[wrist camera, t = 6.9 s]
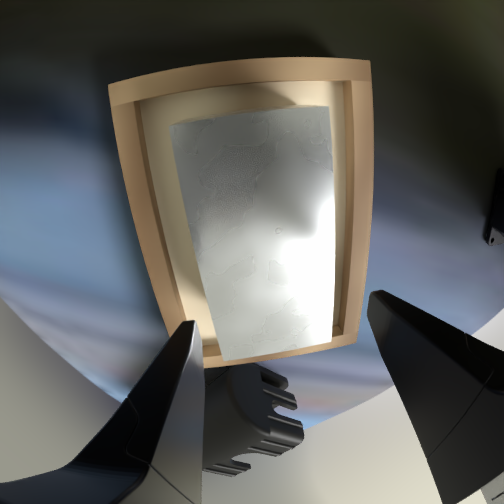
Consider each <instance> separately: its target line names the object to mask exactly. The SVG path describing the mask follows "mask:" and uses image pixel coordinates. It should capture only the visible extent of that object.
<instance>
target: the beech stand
mask: <svg viewBox="0 0 504 504" xmlns="http://www.w3.org/2000/svg"><path fill="white" fill-rule="evenodd" d="M108 90H109V97H110V104H111V111H112V118H113V124H114V130H115V136H116V142H117V147H118V152H119V158H120V163H121V168H122V172H123V177H124V182H125V186H126V191H127V195H128V199H129V204H130V208H131V212H132V216H133V220H134V224H135V228H136V231H137V235H138V239H139V243H140V246H141V250H142V253H143V257H144V260H145V264H146V267H147V270H148V274H149V277H150V280H151V283H152V287H153V290H154V293H155V296H156V299H157V302H158V305H159V308H160V311H161V314H162V317H163V320H164V323H165V325H166V328H167V331H168V334H169V337H171V336H172V334H173V333H174V332H175V330H176V329H177V328H178V326H179V325H180V324H181V322H183V321H187V320H195V321H196V322H197V326H198V329H199V333H200V336H201V340H202V348H203V363H204V368H212V367H221V366H229V365H237V364H245V363H252V362H259V361H265V360H272V359H278V358H284V357H290V356H295V355H301V354H306V353H311V352H316V351H321V350H326V349H331V348H336V347H340V346H345V345H349V344H353V343H356V340H357V335H358V329H359V323H360V317H361V310H362V303H363V296H364V289H365V281H366V273H367V264H368V254H369V244H370V232H371V218H372V200H373V174H374V123H373V97H372V80H371V67H370V61H368V60H358V59H344V58H323V57H279V58H258V59H244V60H233V61H224V62H215V63H208V64H200V65H194V66H188V67H182V68H176V69H171V70H166V71H161V72H156V73H151V74H147V75H143V76H139V77H134V78H130V79H127V80H123V81H119V82H116V83H112V84H109V85H108ZM297 104H298V105H318V106H329V112H330V124H331V138H332V154H333V175H334V207H335V268H334V301H333V322H332V338H331V342H327V343H323V344H318V345H314V346H309V347H304V348H299V349H294V350H289V351H284V352H278V353H273V354H267V355H261V356H255V357H249V358H243V359H236V360H229V361H223V357H222V354H221V350H220V347H219V343H218V340H217V336H216V333H215V329H214V325H213V322H212V318H211V314H210V311H209V307H208V303H207V299H206V295H205V291H204V288H203V284H202V280H201V276H200V272H199V268H198V264H197V259H196V255H195V251H194V247H193V243H192V238H191V234H190V230H189V225H188V221H187V216H186V212H185V207H184V202H183V198H182V193H181V188H180V183H179V178H178V174H177V168H176V163H175V158H174V153H173V148H172V142H171V137H170V131H169V126H170V125H173V124H175V123H177V122H179V121H181V120H184V119H190V118H195V117H200V116H206V115H212V114H218V113H225V112H231V111H239V110H246V109H254V108H263V107H273V106H284V105H297Z"/></svg>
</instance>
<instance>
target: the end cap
mask: <svg viewBox="0 0 504 504" xmlns="http://www.w3.org/2000/svg"><path fill="white" fill-rule="evenodd" d="M287 387H288V381H287V379H286V378H285V377H283V376H281V375H279V374H276V373H274V372H272V371H270V370H268V369H266V368H264V367H261V366H259V365H257V364H255V363H245V364H237V365H234V366H232V367H231V368H230V369H228V370H227V371H226V372H225V373H224V374H222V375H221V376H220V377H219V378H217V379H216V380H215V381H214V382H212V383H211V384H210V385H209V386H207V387H206V388H205V404H204V425H203V451H202V471H206V472H211V473H215V474H221V475H225V476H230V477H232V476H236V475H237V474H239V473H242V472H245V471H247V470H248V469H251V466H250V464H247V463H243V462H238V461H234V460H232V459H231V458H233V457H234V456H237V455H240V454H246V453H261V454H266V455H270V456H275V457H276V456H280V455H281V454H282V453H284V452H286V451H288V450H290V449H293V448H294V447H295V446H297V445H299V444H300V443H302V441H303V439H304V432H303V425H302V424H301V421H298V420H295V419H292V418H288V417H285V416H282V415H279V414H277V413H276V412H275V411H274V408H276V407H277V406H279V405H280V406H282V407H285V408H288V409H291V410H295V409H297V404H296V400H295V397H294V395H293V394H291V393H289V392H286V391H284V390H285V389H286V388H287Z"/></svg>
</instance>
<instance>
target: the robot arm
mask: <svg viewBox="0 0 504 504" xmlns="http://www.w3.org/2000/svg"><path fill="white" fill-rule="evenodd" d="M486 243H487V244H488V245H489V246H493V245H497V244H502V243H504V168H500V169H499V171H498V174H497V181H496V189H495V195H494V202H493V207H492V213H491V218H490V223H489V228H488V232H487V237H486ZM367 317H368V320H369V323H370V326H371V329H372V331H373V334H374V337H375V340H376V343H377V345H378V348H379V351H380V354H381V356H382V359H383V361H384V363H385V365H386V367H387V369H388V371H389V373H390V376H391V378H392V380H393V382H394V384H395V386H396V389H397V391H398V393H399V395H400V397H401V400H402V402H403V404H404V406H405V409H406V411H407V413H408V415H409V418H410V420H411V423H412V425H413V427H414V430H415V432H416V434H417V437H418V439H419V441H420V444H421V447H422V449H423V451H424V454H425V457H426V458H427V462H428V465H429V467H430V470H431V473H432V475H433V478H434V481H435V484H436V486H437V489H438V492H439V495H440V498H441V500H442V503H443V504H457V503H459V502H460V501H462V500H464V499H465V498H467V497H468V496H470V495H472V494H473V493H474V492H476V491H478V490H479V489H481V491H482V493H483V495H484V498H485V500H486V502H487V504H504V351H502V350H499V349H497V348H495V347H493V346H491V345H488V344H486V343H484V342H482V341H480V340H478V339H476V338H474V337H472V336H471V335H469V334H467V333H464V332H463V331H461V330H459V329H457V328H456V327H454V326H452V325H450V324H448V323H446V322H444V321H442V320H440V319H438V318H437V317H435V316H433V315H431V314H429V313H427V312H425V311H423V310H421V309H419V308H417V307H415V306H413V305H411V304H410V303H408V302H406V301H404V300H402V299H400V298H398V297H396V296H394V295H392V294H390V293H388V292H386V291H384V290H377V291H373V292H371V293H370V296H369V302H368V309H367ZM127 397H128V398H125V400H124V401H123V402H122V404H121V405H120V406H119V408H118V409H117V410H116V412H115V413H114V414H113V416H112V417H111V418H110V420H109V421H108V422H107V423H106V424H105V425H104V426H103V428H102V429H101V430H100V431H99V432H98V433H97V434H96V435H95V436H94V437H93V439H92V440H91V441H90V442H89V443H88V444H87V445H86V446H85V447H84V448H83V449H82V451H81V452H80V453H79V454H78V455H77V456H76V457H75V458H74V459H73V460H72V461H71V462H69V463H68V464H67V465H65V466H64V467H62V468H59V469H57V470H54V471H50V472H47V473H43V474H39V475H35V476H32V477H28V478H23V479H20V480H15V481H10V482H5V483H0V504H201V490H202V451H203V425H204V404H205V377H204V363H203V348H202V340H201V336H200V333H199V329H198V326H197V322H196V321H195V320H187V321H183V322H181V324H180V325H179V326H178V328H177V329H176V330H175V332H174V333H173V334H172V336H171V337H170V338H169V340H168V341H167V342H166V344H165V345H164V346H163V348H162V349H161V351H160V352H159V353H158V355H157V356H156V357H155V359H154V360H153V361H152V363H151V364H150V365H149V367H148V368H147V370H146V371H145V372H144V374H143V375H142V376H141V378H140V379H139V381H138V382H137V383H136V385H135V386H134V387H133V389H132V390H131V391H130V393H129V394H128V396H127Z"/></svg>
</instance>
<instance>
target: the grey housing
mask: <svg viewBox="0 0 504 504" xmlns="http://www.w3.org/2000/svg"><path fill="white" fill-rule="evenodd" d="M169 131H170V137H171V142H172V148H173V153H174V158H175V163H176V168H177V174H178V178H179V183H180V188H181V193H182V198H183V202H184V207H185V212H186V216H187V221H188V225H189V230H190V234H191V238H192V243H193V247H194V251H195V255H196V259H197V264H198V268H199V272H200V276H201V280H202V284H203V288H204V291H205V295H206V299H207V303H208V307H209V311H210V314H211V318H212V322H213V325H214V329H215V333H216V336H217V340H218V343H219V347H220V350H221V354H222V357H223V361H229V360H236V359H243V358H249V357H255V356H261V355H267V354H273V353H278V352H284V351H289V350H294V349H299V348H304V347H309V346H314V345H318V344H323V343H327V342H331V338H332V322H333V301H334V268H335V207H334V175H333V154H332V138H331V124H330V112H329V106H318V105H298V104H297V105H284V106H273V107H263V108H254V109H246V110H239V111H231V112H225V113H218V114H212V115H206V116H200V117H195V118H190V119H184V120H181V121H179V122H177V123H175V124H173V125H170V126H169Z"/></svg>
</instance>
